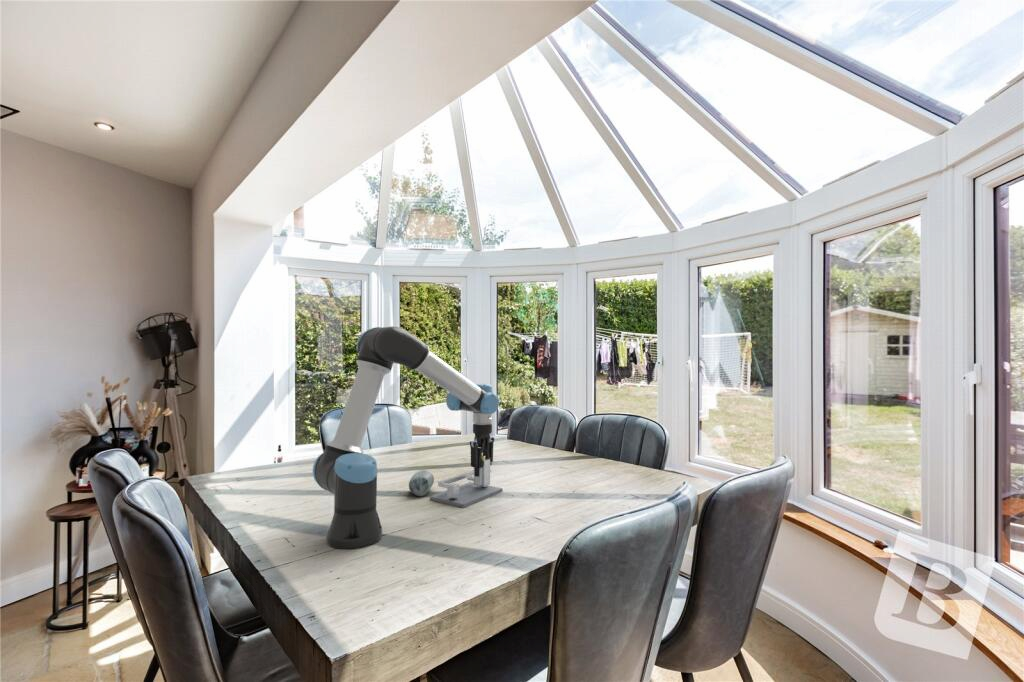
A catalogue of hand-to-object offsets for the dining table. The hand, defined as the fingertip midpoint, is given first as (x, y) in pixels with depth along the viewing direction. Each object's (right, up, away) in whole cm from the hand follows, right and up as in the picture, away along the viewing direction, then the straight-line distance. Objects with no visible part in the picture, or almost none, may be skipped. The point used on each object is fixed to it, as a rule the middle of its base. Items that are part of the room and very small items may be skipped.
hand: (481, 482), depth 185 cm
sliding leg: (-2, -2, +1) cm, 3 cm away
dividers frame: (-6, -2, -4) cm, 8 cm away
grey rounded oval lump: (-23, -3, -3) cm, 24 cm away
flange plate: (-5, -3, -6) cm, 9 cm away
